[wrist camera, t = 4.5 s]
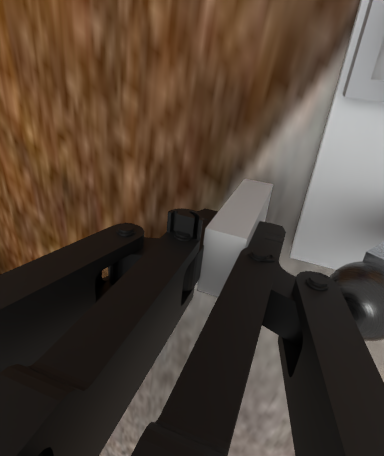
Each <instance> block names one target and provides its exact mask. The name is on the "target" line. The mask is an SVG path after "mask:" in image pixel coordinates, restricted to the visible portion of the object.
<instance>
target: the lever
mask: <svg viewBox="0 0 384 456" xmlns="http://www.w3.org/2000/svg"><path fill="white" fill-rule="evenodd" d="M330 278H331V279H332V280H334V281H335V282H336V283H337V285H338V286H339V288H340V290H341V292H342V294H343V296H344V299H345V301H346V303H347V305H348V307H349V309H350V311H351V314H352V316H353V318H354V320H355V322H356V324H357V326H358V329H359V331H360V333H361V335H362V337H363V339H364V341H378V340H383V339H384V241H383V242H382V243H380V244H378V245H377V246H375V247H373V248H372V249H370V250H368V251H366V253H365V256H364V258H363V261H359V262H353V263H349V264H346V265H344V266H342V267H340V268H338V269H337V270H336V271H335V272H333V273H332V275H331V276H330Z"/></svg>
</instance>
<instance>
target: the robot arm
mask: <svg viewBox="0 0 384 456" xmlns="http://www.w3.org/2000/svg"><path fill="white" fill-rule="evenodd" d="M272 189H273V184H270V183H265V182H260V181H255V180H251V179H246V178H245V179H244V180H243V181H242V182H241V184H240V185H239V186H238V187H237V189H236V190H235V191H234V193H233V194H232V195H231V196H230V198H229V199H228V200H227V201H226V203H225V204H224V205H223V206H222V208H221V209H220V210H219V212H217V211H213V210H209V209H203V210H200V211H194V210H190V209H174V210H171V211H169V212H168V221H167V232H166V233H165V234H164V235H163V236H162V237H161V238H146V237H144V230H143V228H141V227H140V226H138V225H134V224H132V223H124V224H117V225H114V226H111V227H109V228H107V229H104V230H102V231H100V232H98V233H95V234H93V235H91V236H88V237H86V238H84V239H81V240H79V241H77V242H75V243H72V244H70V245H68V246H65V247H63V248H61V249H59V250H56V251H54V252H52V253H49V254H47V255H45V256H42V257H40V258H38V259H36V260H33V261H31V262H29V263H26V264H24V265H22V266H20V267H17V268H15V269H13V270H10V271H8V272H6V273H3V274H1V275H0V456H99V454H100V453H101V451H102V449H103V448H104V446H105V444H106V443H107V441H108V439H109V438H110V436H111V434H112V432H113V431H114V429H115V427H116V426H117V424H118V422H119V421H120V419H121V417H122V416H123V414H124V412H125V411H126V409H127V407H128V406H129V404H130V402H131V400H132V399H133V397H134V395H135V394H136V392H137V390H138V389H139V387H140V385H141V384H142V382H143V380H144V379H145V377H146V375H147V374H148V372H149V370H150V369H151V367H152V365H153V363H154V362H155V360H156V358H157V357H158V355H159V353H160V352H161V350H162V348H163V347H164V345H165V343H166V342H167V340H168V338H169V337H170V335H171V333H172V331H173V330H174V328H175V326H176V325H177V323H178V321H179V320H180V318H181V316H182V315H183V313H184V311H185V310H186V308H187V306H188V305H189V303H190V301H191V300H192V298H193V293H194V286H195V284H196V283H197V281H198V287H197V291H200V292H203V293H207V294H210V295H213V296H216V297H218V299H217V301H216V303H215V305H214V307H213V309H212V311H211V313H210V315H209V317H208V319H207V321H206V323H205V325H204V327H203V329H202V331H201V333H200V335H199V337H198V339H197V341H196V343H195V346H194V348H193V350H192V352H191V354H190V356H189V358H188V360H187V362H186V364H185V366H184V368H183V370H182V372H181V374H180V376H179V378H178V380H177V382H176V384H175V386H174V388H173V390H172V392H171V394H170V396H169V398H168V401H167V403H166V405H165V407H164V409H163V411H162V413H161V415H160V416H159V418H158V420H157V421H156V422H151V423H150V424H149V425H148V426H147V427H146V429H145V431H144V432H143V434H142V436H141V437H140V439H139V441H138V443H137V445H136V447H135V449H134V451H133V453H132V455H131V456H227V455H228V452H229V448H230V444H231V440H232V436H233V433H234V429H235V425H236V421H237V417H238V414H239V410H240V406H241V402H242V398H243V394H244V391H245V387H246V383H247V379H248V375H249V372H250V368H251V364H252V360H253V356H254V353H255V349H256V345H257V341H258V337H259V334H260V330H261V326H262V325H263V326H264V327H266V328H268V329H269V330H271V331H273V332H274V333H276V334H278V335H279V337H278V345H279V352H280V358H281V365H282V371H283V378H284V384H285V391H286V397H287V404H288V410H289V417H290V424H291V430H292V437H293V443H294V450H295V456H384V382H383V380H382V378H381V376H380V374H379V372H378V369H377V367H376V365H375V363H374V361H373V359H372V357H371V354H370V352H369V350H368V348H367V346H366V344H365V341H364V339H363V337H362V335H361V333H360V331H359V329H358V326H357V324H356V322H355V320H354V318H353V316H352V314H351V311H350V309H349V307H348V305H347V303H346V301H345V299H344V296H343V294H342V292H341V290H340V288H339V286H338V285H337V283H336V282H335V281H334V280H332V279H331V278H330V277H328V276H326V275H323V274H322V273H317V272H312V271H305V272H301V273H299V274H298V275H297V276H296V277H295V276H293V275H291V274H289V273H287V272H286V271H285V270H284V269H282V267H281V266H280V264H279V257H280V253H281V249H282V245H283V241H284V237H285V233H286V232H285V230H284V228H283V227H282V226H279V225H275V224H271V223H267V222H265V220H266V215H267V211H268V207H269V202H270V198H271V193H272ZM107 267H108V276H107V277H105V278H102V270H103V269H105V268H107Z"/></svg>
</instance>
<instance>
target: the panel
mask: <svg viewBox="0 0 384 456" xmlns="http://www.w3.org/2000/svg"><path fill="white" fill-rule="evenodd" d="M383 241H384V0H360V4H359V7H358V11H357V14H356V18H355V22H354V25H353V29H352V32H351V36H350V39H349V43H348V47H347V50H346V54H345V57H344V61H343V65H342V68H341V72H340V75H339V79H338V82H337V86H336V90H335V93H334V97H333V100H332V104H331V107H330V111H329V115H328V118H327V122H326V125H325V129H324V132H323V136H322V140H321V143H320V147H319V150H318V154H317V157H316V161H315V165H314V168H313V172H312V175H311V179H310V182H309V186H308V190H307V193H306V197H305V200H304V204H303V208H302V211H301V215H300V218H299V222H298V225H297V229H296V233H295V236H294V240H293V243H292V248H291V253H290V258H293V259H297V260H301V261H305V262H308V263H312V264H316V265H320V266H323V267H327V268H331V269H335V270H337V269H338V268H340V267H342V266H344V265H346V264H349V263H353V262H359V261H363V258H364V256H365V253H366V251H368V250H370V249H372V248H373V247H375V246H377V245H378V244H380V243H382V242H383Z"/></svg>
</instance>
